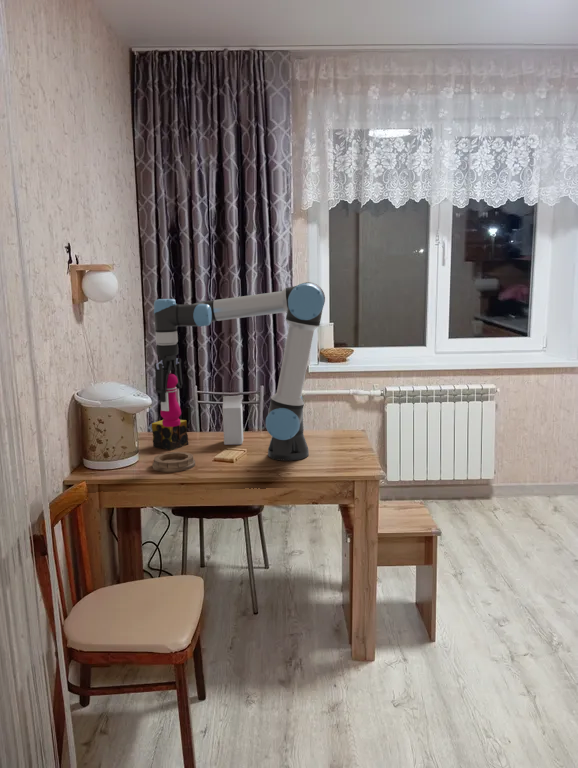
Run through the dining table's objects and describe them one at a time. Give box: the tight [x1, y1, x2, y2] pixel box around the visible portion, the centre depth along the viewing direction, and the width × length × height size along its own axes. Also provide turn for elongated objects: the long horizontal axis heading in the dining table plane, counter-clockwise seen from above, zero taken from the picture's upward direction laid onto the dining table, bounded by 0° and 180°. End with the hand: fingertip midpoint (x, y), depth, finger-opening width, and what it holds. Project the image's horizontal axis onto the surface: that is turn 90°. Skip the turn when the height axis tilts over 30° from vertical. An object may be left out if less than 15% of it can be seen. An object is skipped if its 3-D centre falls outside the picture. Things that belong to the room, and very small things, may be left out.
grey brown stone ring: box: [152, 451, 196, 473], centre depth 244 cm, size 15×15×3 cm
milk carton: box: [222, 395, 244, 445], centre depth 272 cm, size 7×7×19 cm
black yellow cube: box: [151, 419, 189, 451], centre depth 270 cm, size 10×10×10 cm
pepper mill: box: [160, 370, 182, 427], centre depth 240 cm, size 7×7×20 cm
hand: (170, 408), depth 241 cm, fingers closed on pepper mill, 6 cm apart
